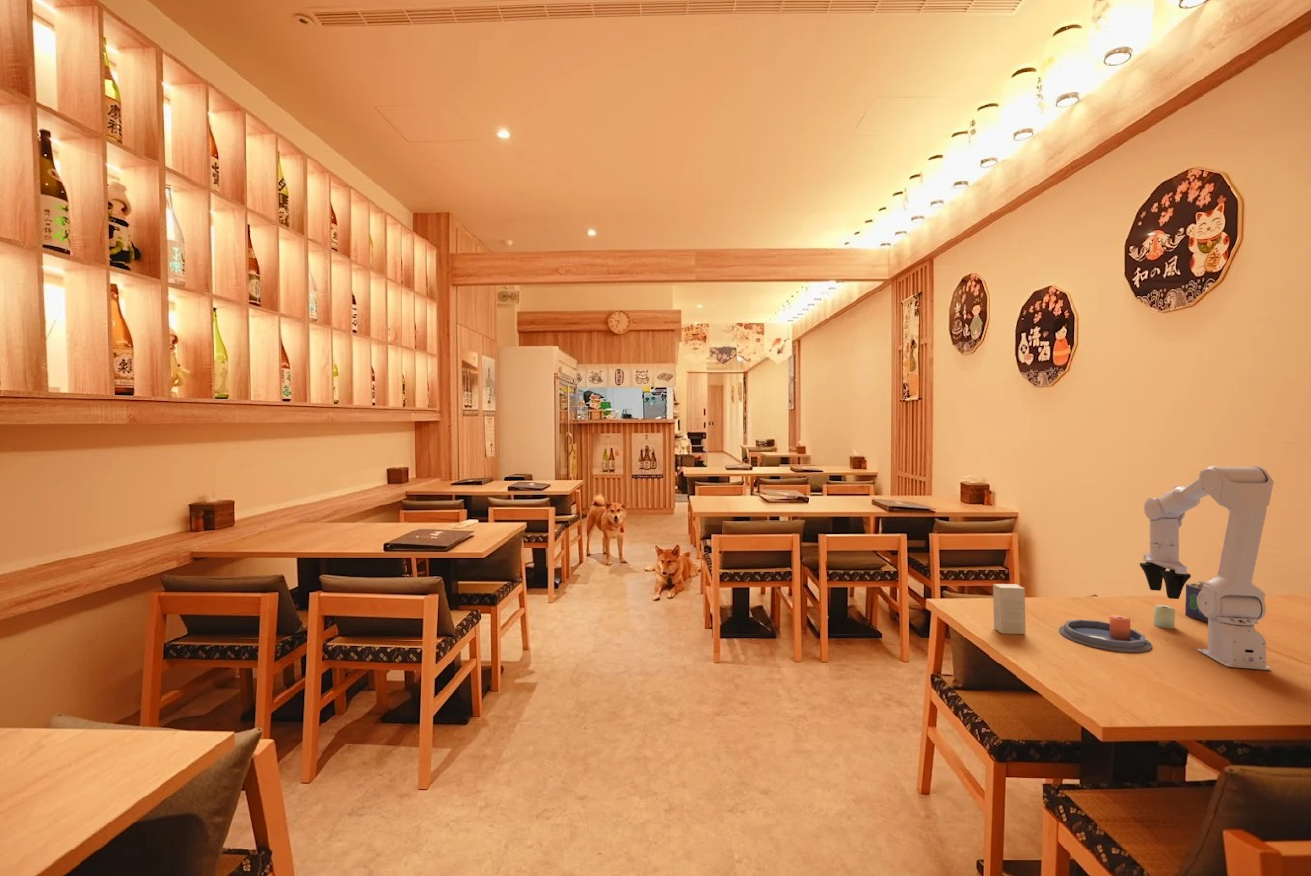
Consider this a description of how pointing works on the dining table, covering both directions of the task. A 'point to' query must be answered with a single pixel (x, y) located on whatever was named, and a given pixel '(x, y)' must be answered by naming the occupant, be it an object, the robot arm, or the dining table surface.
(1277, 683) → the dining table surface
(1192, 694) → the dining table surface
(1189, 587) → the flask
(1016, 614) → the skincare box
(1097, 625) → the round tray
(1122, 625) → the vermilion bead
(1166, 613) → the sage bead
